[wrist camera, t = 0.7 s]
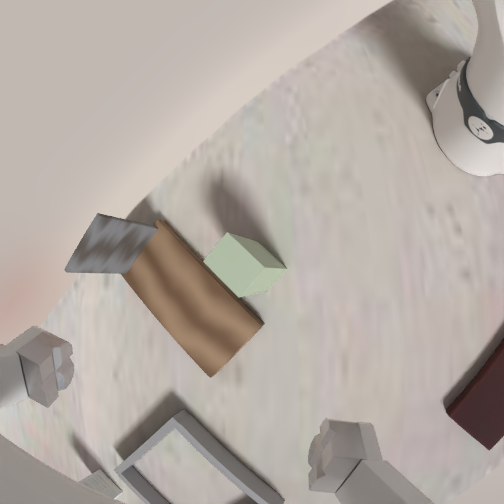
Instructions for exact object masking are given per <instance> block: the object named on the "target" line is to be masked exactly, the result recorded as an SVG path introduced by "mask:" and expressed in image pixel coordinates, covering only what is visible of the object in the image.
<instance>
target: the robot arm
mask: <svg viewBox="0 0 504 504" xmlns="http://www.w3.org/2000/svg"><path fill="white" fill-rule="evenodd" d="M472 2H473V5H474V7H475V11H476V14H477V19H478V34H477V38H476V43H475V46H474V50H473V53H472V55H471V57H469V58H468V59H467V60H466V61H465V60H462V61H461V62H460V63H459V64H458V66H457V68H456V69H457V71H458V72H456V71H454V70H453V71H452V72H451V73H450V75H449V77H450V78H448V79H446V81H444V82H443V83H442V84H440V85H439V86H438V87H436V88H435V89H434V90H432V91H431V92H430V93H429V94H428V95H427V97H426V102H427V105H428V107H429V109H430V111H431V113H432V117H433V129H434V134H435V137H436V140H437V142H438V144H439V146H440V148H441V149H442V151H443V152H444V154H445V155H446V156H447V157H448V159H449V160H450V161H451V162H452V163H454V164H455V165H456V166H457V167H459V168H460V169H462V170H463V171H465V172H467V173H470V174H473V175H476V176H491V175H495V174H504V0H472ZM436 95H438V97H437V96H436ZM72 354H73V352H72V345H71V344H70V343H69V342H67V341H65V340H63V339H61V338H59V337H57V336H55V335H53V334H51V333H49V332H47V331H45V330H43V329H41V328H39V327H38V326H32V327H31V328H29V329H28V330H26V331H25V332H24V333H22V334H21V335H19V336H18V337H17V338H16V339H14V340H12V341H11V342H10V343H8V344H7V345H6V346H5V345H3V344H0V408H3V407H6V406H9V405H11V404H14V403H17V402H20V401H23V400H25V399H28V397H29V398H31V399H33V400H35V401H36V402H38V403H40V404H42V405H44V406H46V407H47V408H48V407H49V406H50V405H51V404H52V403H53V402H54V401H55V400H56V399H57V398H58V397H59V396H58V391H59V390H63V389H66V388H67V387H68V385H69V384H70V383H71V380H72V378H73V374H74V364H73V362H72V361H71V359H70V356H71V355H72ZM308 463H309V465H310V466H311V467H312V469H311V471H310V473H309V490H310V491H318V492H328V493H335V495H336V497H337V498H338V500H339V501H340V502H341V504H434V503H433V502H432V501H431V500H430V499H429V498H427V497H426V496H425V495H424V494H423V493H422V492H421V491H420V490H418V489H417V488H416V487H415V486H414V485H413V484H412V483H411V482H410V481H408V480H407V479H406V478H405V477H404V476H403V475H402V474H401V473H400V472H399V471H397V470H396V469H395V468H394V467H393V466H392V465H391V464H390V463H389V462H388V461H383V459H382V456H381V452H380V448H379V444H378V441H377V437H376V433H375V430H374V426H373V425H372V424H371V423H363V422H351V421H342V420H334V419H327V418H326V419H325V420H324V421H323V422H322V424H321V426H320V434H318V435H316V436H315V437H314V439H313V441H312V443H311V446H310V449H309V454H308ZM0 504H125V503H123V502H120V501H118V500H116V499H113V498H111V497H109V496H106V495H104V494H102V493H100V492H97V491H95V490H93V489H91V488H89V487H87V486H85V485H83V484H81V483H79V482H77V481H75V480H73V479H71V478H69V477H67V476H66V475H64V474H62V473H60V472H58V471H57V470H55V469H53V468H51V467H50V466H48V465H46V464H45V463H43V462H41V461H40V460H38V459H36V458H35V457H33V456H32V455H30V454H29V453H27V452H25V451H24V450H22V449H21V448H19V447H18V446H17V445H15V444H14V443H12V442H11V441H9V440H8V439H7V438H5V437H4V436H2V435H1V434H0Z"/></svg>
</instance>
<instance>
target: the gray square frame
mask: <svg viewBox="0 0 504 504" xmlns="http://www.w3.org/2000/svg"><path fill="white" fill-rule="evenodd" d="M175 428H176V429H177V430H178V431H179V432H180V433H181V434H182V435H183V436H184V437H185V438H186V439H187V440H188V441H189V442H190V443H191V444H192V445H193V446H194V447H195V448H196V449H197V450H198V451H199V452H200V453H201V454H202V455H203V456H204V457H205V458H206V459H207V460H208V461H209V462H210V463H211V464H212V465H214V466H215V467H216V468H217V469H218V470H219V471H220V472H221V473H222V474H224V475H225V476H226V477H227V478H228V479H229V480H230V481H231V482H233V483H234V484H235V485H236V486H237V487H239V488H240V489H241V490H242V491H243V492H245V493H246V494H247V495H248V496H249V497H251V498H252V499H253V500H254V501H256V502H257V503H258V504H283V503H284V501H285V500H284V499H283V498H281V497H280V495H279V494H278V493H277V492H275V491H274V490H273V489H272V488H270V487H269V486H268V485H267V484H266V483H264V482H263V481H262V480H261V479H259V478H258V477H257V476H256V475H255V474H254V473H252V472H251V471H250V470H249V469H248V468H247V467H245V466H244V465H243V464H242V463H241V462H240V461H239V460H238V459H236V458H235V457H234V456H233V455H232V454H231V453H230V452H229V451H228V450H227V449H226V448H224V447H223V446H222V445H221V444H220V443H219V442H218V441H217V440H216V439H215V438H214V437H213V436H212V435H211V434H210V433H209V432H208V431H207V430H206V429H205V428H204V427H203V426H202V425H201V424H200V423H199V422H198V421H197V420H196V419H195V418H194V417H193V416H192V415H190V414H189V413H188V412H187V411H186V410H185V409H183V410H182V411H180V412H179V413H177V414H176V415H175V416H173V417H172V418H171V419H170V420H169V421H168V422H167V423H165V424H164V425H163V426H162V427H161V428H160V429H159V430H158V431H157V432H156V433H155V434H154V435H152V436H151V437H150V438H149V439H148V440H147V441H146V442H145V443H144V444H143V445H141V446H140V447H139V448H138V449H137V450H136V451H135V452H134V453H132V454H131V455H130V456H129V457H128V458H127V459H126V460H124V461H123V462H122V463H121V464H120V465H119V466H118V467H116V468H115V469H114V471H115V472H116V473H117V474H118V476H119V477H120V478H121V479H122V480H123V481H124V482H125V483H126V485H127V486H128V487H129V488H130V489H131V490H132V491H133V492H134V493H135V494H136V495H137V496H138V497H139V498H140V499H141V500H142V501H143V502H144V503H145V504H170V503H169V502H168V501H167V500H166V499H165V498H163V497H162V496H161V495H160V494H159V493H158V492H157V491H156V490H155V489H154V488H153V487H152V486H151V485H150V484H149V483H148V482H147V481H146V480H145V479H144V478H143V477H142V476H141V475H140V474H139V473H138V472H137V471H136V469H135V468H134V467H133V466H132V465H133V464H134V463H135V462H137V461H138V460H139V459H140V458H141V457H143V456H144V455H145V454H146V453H147V452H149V451H150V450H151V449H152V448H153V447H154V446H156V445H157V444H158V443H159V442H160V441H161V440H163V439H164V438H165V437H166V436H167V435H168V434H169V433H171V432H172V431H173V430H174V429H175Z"/></svg>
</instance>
